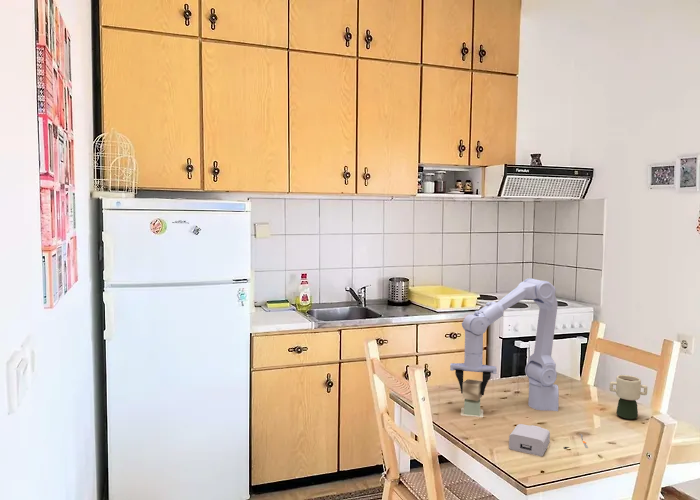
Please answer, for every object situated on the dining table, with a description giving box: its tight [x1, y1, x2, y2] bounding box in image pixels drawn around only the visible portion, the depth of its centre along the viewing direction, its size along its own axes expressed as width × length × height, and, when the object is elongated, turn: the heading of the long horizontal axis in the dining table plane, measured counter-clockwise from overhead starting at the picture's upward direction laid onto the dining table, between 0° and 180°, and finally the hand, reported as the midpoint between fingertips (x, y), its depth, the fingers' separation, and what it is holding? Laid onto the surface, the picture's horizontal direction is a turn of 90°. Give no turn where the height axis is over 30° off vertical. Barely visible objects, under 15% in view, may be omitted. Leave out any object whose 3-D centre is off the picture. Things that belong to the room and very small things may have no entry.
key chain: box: [563, 433, 589, 450], centre depth 156 cm, size 13×7×1 cm, turn 162°
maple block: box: [462, 378, 483, 401], centre depth 175 cm, size 5×5×5 cm
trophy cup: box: [609, 374, 648, 420], centre depth 176 cm, size 11×7×13 cm, turn 68°
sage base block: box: [463, 398, 481, 416], centre depth 176 cm, size 5×5×4 cm
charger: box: [508, 423, 551, 457], centre depth 155 cm, size 5×9×15 cm
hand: (472, 393), depth 175 cm, fingers closed on maple block, 6 cm apart
